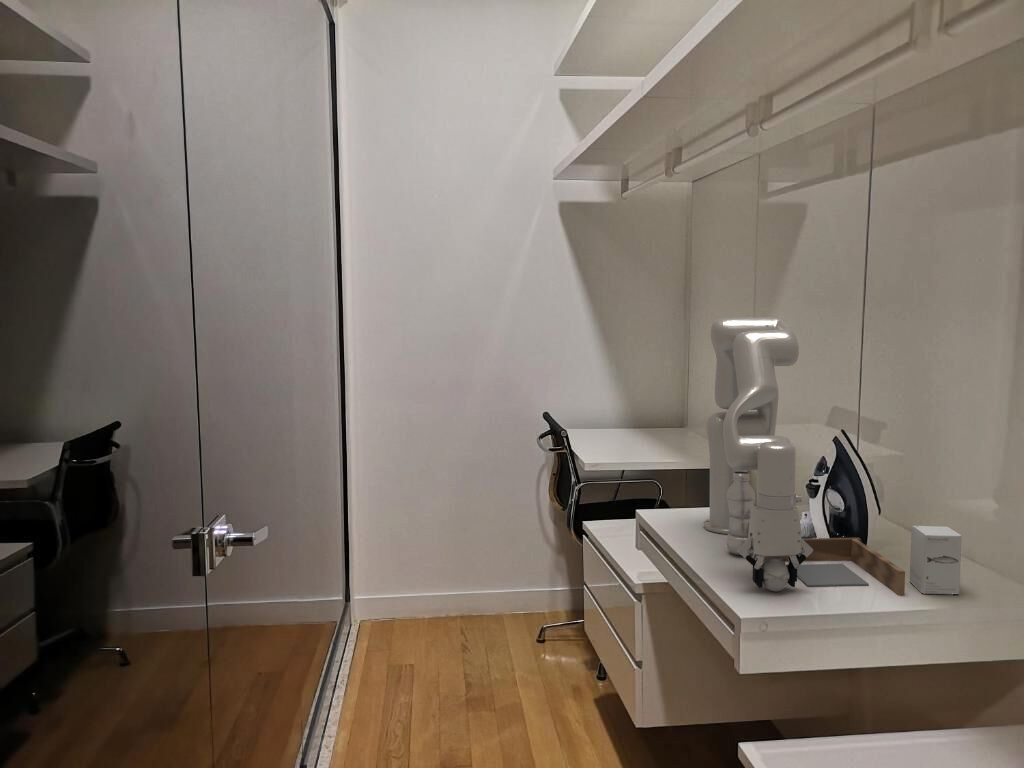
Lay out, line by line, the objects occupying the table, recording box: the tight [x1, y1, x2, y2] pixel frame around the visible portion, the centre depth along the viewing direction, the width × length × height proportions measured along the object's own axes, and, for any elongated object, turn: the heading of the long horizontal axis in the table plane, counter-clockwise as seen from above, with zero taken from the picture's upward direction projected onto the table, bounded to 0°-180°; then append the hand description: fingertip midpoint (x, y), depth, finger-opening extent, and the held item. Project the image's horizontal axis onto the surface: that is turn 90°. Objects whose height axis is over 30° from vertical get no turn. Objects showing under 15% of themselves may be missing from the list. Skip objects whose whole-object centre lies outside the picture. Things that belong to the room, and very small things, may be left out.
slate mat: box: [785, 563, 870, 588], centre depth 170 cm, size 13×13×1 cm
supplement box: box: [909, 525, 963, 595], centre depth 161 cm, size 7×7×13 cm
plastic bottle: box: [726, 471, 756, 556], centre depth 185 cm, size 6×7×20 cm
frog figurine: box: [761, 556, 790, 592], centre depth 162 cm, size 6×7×7 cm
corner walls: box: [763, 537, 906, 596], centre depth 170 cm, size 23×22×5 cm
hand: (774, 584), depth 162 cm, fingers closed on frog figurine, 6 cm apart
